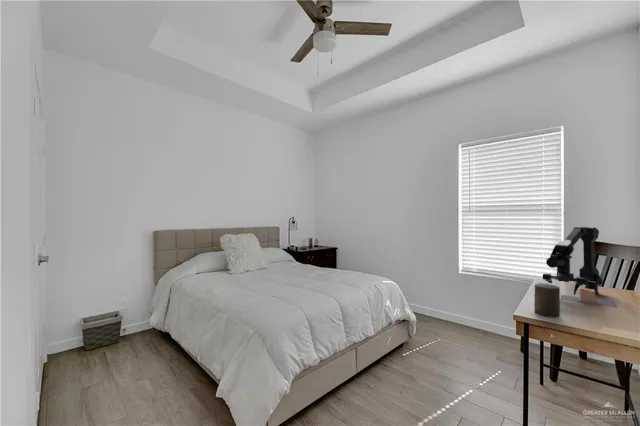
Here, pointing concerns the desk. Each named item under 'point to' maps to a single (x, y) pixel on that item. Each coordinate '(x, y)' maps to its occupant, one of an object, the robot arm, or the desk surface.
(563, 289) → the desk surface
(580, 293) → the cube
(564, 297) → the mat
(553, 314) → the pillar candle
